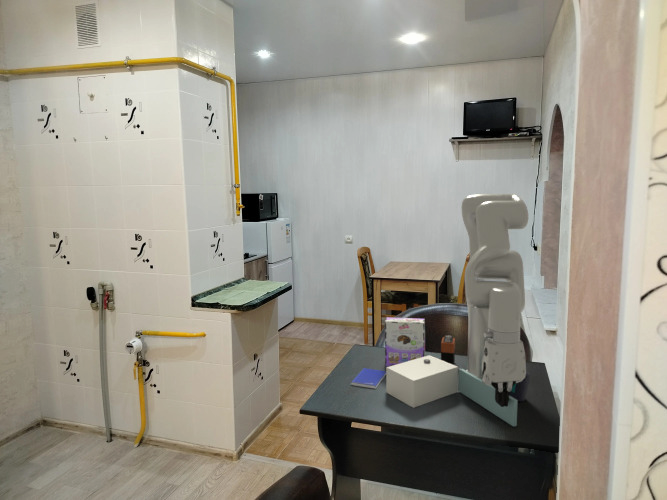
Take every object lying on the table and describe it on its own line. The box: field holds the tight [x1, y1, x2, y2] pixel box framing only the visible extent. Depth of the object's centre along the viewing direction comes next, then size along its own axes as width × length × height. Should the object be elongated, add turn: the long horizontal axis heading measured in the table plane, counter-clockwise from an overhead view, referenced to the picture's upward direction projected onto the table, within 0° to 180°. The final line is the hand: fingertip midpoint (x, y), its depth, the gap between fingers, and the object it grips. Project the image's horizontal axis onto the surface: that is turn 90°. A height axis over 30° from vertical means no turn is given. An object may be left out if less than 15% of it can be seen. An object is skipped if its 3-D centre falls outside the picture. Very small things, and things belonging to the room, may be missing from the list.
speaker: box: [509, 370, 531, 403], centre depth 132 cm, size 8×6×10 cm
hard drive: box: [350, 367, 386, 389], centre depth 148 cm, size 2×8×12 cm
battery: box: [440, 334, 456, 365], centre depth 159 cm, size 4×7×10 cm, turn 162°
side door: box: [457, 367, 519, 427], centre depth 126 cm, size 24×2×7 cm, turn 21°
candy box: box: [384, 316, 426, 367], centre depth 159 cm, size 14×6×16 cm, turn 77°
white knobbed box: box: [385, 354, 459, 409], centre depth 137 cm, size 19×12×9 cm, turn 123°
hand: (501, 404), depth 117 cm, fingers closed
